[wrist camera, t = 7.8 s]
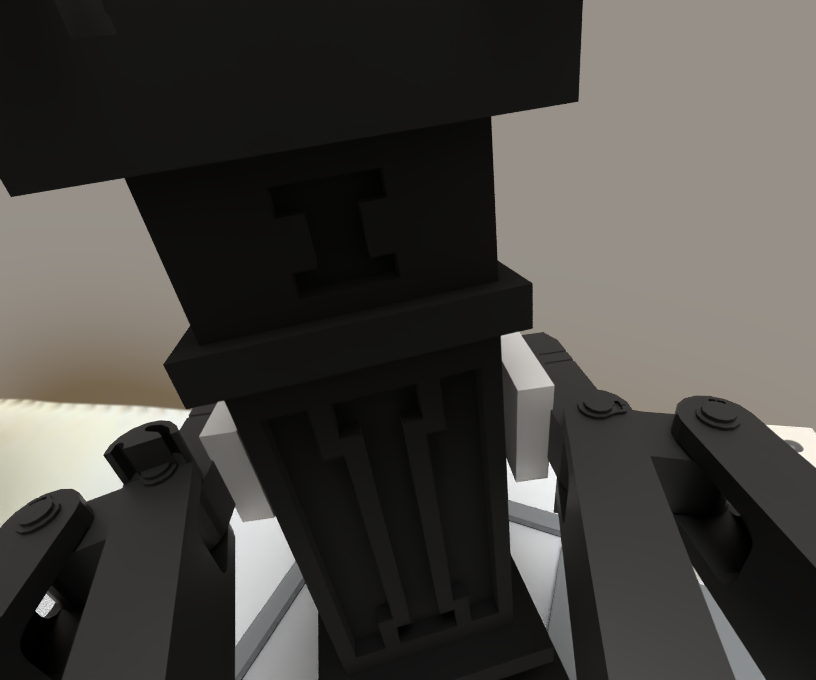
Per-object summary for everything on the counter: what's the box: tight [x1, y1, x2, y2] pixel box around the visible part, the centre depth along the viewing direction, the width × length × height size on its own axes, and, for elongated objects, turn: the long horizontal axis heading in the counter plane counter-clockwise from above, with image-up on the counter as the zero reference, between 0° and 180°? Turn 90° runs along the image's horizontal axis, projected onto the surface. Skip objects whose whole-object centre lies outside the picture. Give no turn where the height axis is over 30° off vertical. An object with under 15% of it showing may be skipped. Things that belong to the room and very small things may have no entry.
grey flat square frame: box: [235, 500, 561, 680], centre depth 15 cm, size 14×14×1 cm
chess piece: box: [0, 0, 583, 680], centre depth 10 cm, size 8×8×20 cm
